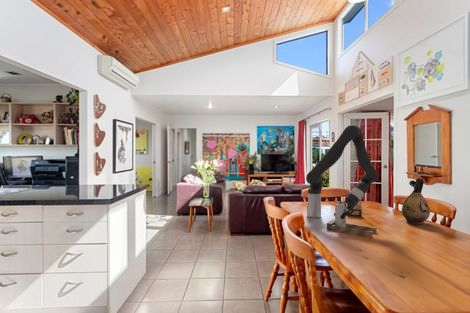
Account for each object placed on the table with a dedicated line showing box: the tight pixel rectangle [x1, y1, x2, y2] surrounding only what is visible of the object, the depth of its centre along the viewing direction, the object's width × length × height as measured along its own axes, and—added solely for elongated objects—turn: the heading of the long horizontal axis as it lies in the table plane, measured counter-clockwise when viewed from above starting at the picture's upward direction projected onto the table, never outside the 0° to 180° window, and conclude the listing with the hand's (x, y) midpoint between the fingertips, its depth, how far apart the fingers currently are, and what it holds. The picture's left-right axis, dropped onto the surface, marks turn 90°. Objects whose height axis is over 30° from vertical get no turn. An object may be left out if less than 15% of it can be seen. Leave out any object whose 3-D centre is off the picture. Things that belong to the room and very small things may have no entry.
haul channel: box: [326, 218, 378, 238], centre depth 157 cm, size 25×12×4 cm, turn 50°
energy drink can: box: [334, 203, 347, 227], centre depth 161 cm, size 6×6×15 cm
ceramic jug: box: [401, 177, 431, 225], centre depth 175 cm, size 17×15×30 cm
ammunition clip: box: [346, 199, 363, 218], centre depth 196 cm, size 11×2×12 cm, turn 65°
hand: (338, 217), depth 160 cm, fingers closed on energy drink can, 6 cm apart
